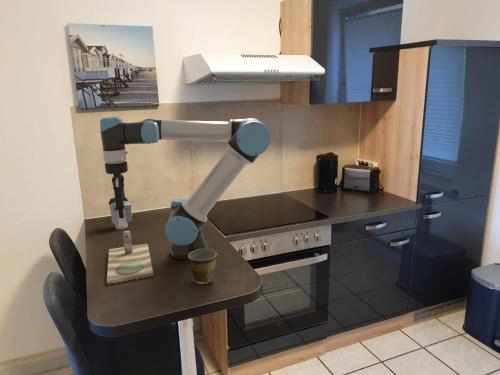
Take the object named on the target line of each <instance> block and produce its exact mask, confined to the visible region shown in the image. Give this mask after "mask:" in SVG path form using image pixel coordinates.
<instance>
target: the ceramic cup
mask: <svg viewBox="0 0 500 375" xmlns="http://www.w3.org/2000/svg"><path fill="white" fill-rule="evenodd" d="M187 261H188V263H189V267H190V270H191V273H192V278H193V280H195V281H198V282H208V281H210V280H212V279H213V280H214V274H215V268H216V262H217V252H216V251H215V250H214V249H210V248H207V249H199V250H195V251H189V252H188V260H187ZM195 281H194V282H195Z"/></svg>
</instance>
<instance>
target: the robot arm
mask: <svg viewBox="0 0 500 375" xmlns="http://www.w3.org/2000/svg"><path fill="white" fill-rule="evenodd" d="M99 127H100V128H99V129H100V131H99V132H100V138H101V144H102V153H103V161H104V162H105V163H104V168H105V173H106V174H107V175H108V174H109V175H113V176H112V178H111V183H112V187H113V188H112V189H113V193H114V198H115V202H116V208H114V210H117V217H118V225H119V227H122V226H127V224H126V215H125V208H124V202H123V201H127V199H125V197H126V195H125V176H123V174H125V173H127V172H128V171H129V166H128V162H127V155H128V151H126V145H143V144H146V145H150V144H157V143H158V142H159V141H163V140H164V141H165V140H167V141H195V142H198V141H200V142H223V143H225V142H226V146H227V150H226V151H225V152H224V154H223V155H222V156H221V158H220V159H219V160H218V161H217V163H216V164H215V165H214V167H213V168H212V169H211V170H210V172H209V173H208V174H207V176H206V177H205V178H204V179H203V181H202V182H201V184H200V185H199V186H198V188H196V190H195V191H194V192H193V194H192V195H191V196H190V197H189V198H188V197H186V198H178V199H177V198H176V199H173V200H172V201H170V210H171V213H170V215H169V217H168V220H167V221H166V222H165V226H164V233H165V236H166V238H167V239H168V241H169V242H171V247H170V255H171V257H172V258H174V259H176V258H177V260H181V259H188V252H189V251H195V250H199V249H208V244H207V242H206V240H205V237H204V235H203V227H204V225H205V224H206V223H207V222H208V213H209V212H211V210H212V209H213V207H214V206H215V205H216V204H217V202H218V201H219V200H220V199H221V197H222V196H223V195H224V193H225V192H226V191H227V190H228V188H229V187H230V186H231V185H232V183H233V182H234V181H235V179H236V178H237V177H238V176H239V174H240V173H241V172H242V171H243V169H244V168H245V167H246V165H249V164H250V165H251V164H254V162H255V161H256V160H257V158H259V156H260V155H262V154H263V153H265V152H266V151H267V149H268V148H269V146H270V143H271V132H270V129H269V128H268V126H267V125H266V124H265V123H264V122H263V121H261V120H259V119H257V118H254V117H253V118H252V117H251V118H250V117H249V118H244V119H243V118H242V119H241V118H239V119H234V118H233V119H230V120H228V121H213V120H211V121H209V120H208V121H207V120H206V121H204V120H202V121H201V120H176V119H175V120H173V119H171V120H170V119H153V118H146V119H144V120H141V121H137V122H124V121H123V118H122V117H121V116H118V117H117V116H112V117H111V116H110V117H109V116H108V117H103V118H101V119H100V120H99ZM119 205H121V206H119Z"/></svg>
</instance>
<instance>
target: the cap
mask: <svg viewBox="0 0 500 375" xmlns="http://www.w3.org/2000/svg"><path fill="white" fill-rule="evenodd" d="M123 202H124V208H125V215H126V223H130V222H132V221H133V212H132V202H131V201H129V200H128V201H123ZM119 206H121V205H119ZM114 208H116V202H114V203H111V204H110V205H109V209H110V216H111V223H112V224H114V225H115V224H118V217H117V210H114Z"/></svg>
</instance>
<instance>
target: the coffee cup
mask: <svg viewBox="0 0 500 375" xmlns="http://www.w3.org/2000/svg"><path fill="white" fill-rule="evenodd" d="M127 198H128V197H126V196H125V199H127ZM127 201H129V199H127ZM114 202H115V197H112V198H110V199H109V201H108V205H109V206H110V204H111V203H114ZM128 223H129V222H128ZM128 223H126V224H127V226H122V227H119V225H118V224H114V227H115V229H116V230H124V229H127V228H128V226H129V224H128Z"/></svg>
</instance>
